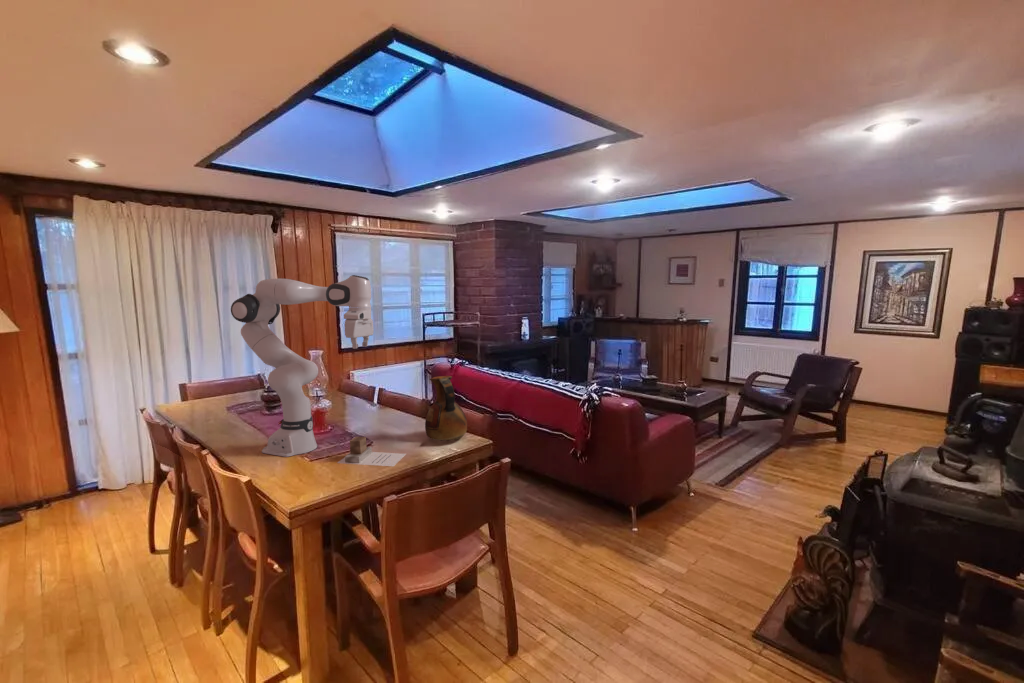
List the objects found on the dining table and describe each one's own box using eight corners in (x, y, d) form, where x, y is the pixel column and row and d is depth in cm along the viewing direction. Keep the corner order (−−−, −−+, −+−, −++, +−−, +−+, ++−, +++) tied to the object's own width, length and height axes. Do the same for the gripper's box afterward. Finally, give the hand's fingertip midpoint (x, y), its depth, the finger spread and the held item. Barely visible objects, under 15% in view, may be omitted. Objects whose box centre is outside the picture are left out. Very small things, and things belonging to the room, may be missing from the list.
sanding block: (345, 462, 178) (344, 443, 177) (358, 452, 188) (357, 434, 187) (359, 463, 177) (358, 444, 176) (371, 452, 187) (371, 434, 186)
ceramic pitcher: (456, 428, 222) (454, 370, 219) (475, 440, 206) (473, 377, 202) (419, 436, 212) (416, 375, 208) (436, 449, 195) (434, 382, 191)
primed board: (337, 466, 177) (336, 462, 177) (353, 454, 190) (353, 450, 190) (393, 469, 174) (393, 466, 173) (406, 457, 186) (406, 453, 186)
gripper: (363, 314, 195) (363, 345, 196) (341, 314, 175) (341, 349, 176) (377, 314, 194) (377, 345, 196) (356, 315, 174) (356, 349, 175)
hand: (360, 347), depth 185 cm, fingers open, 8 cm apart
